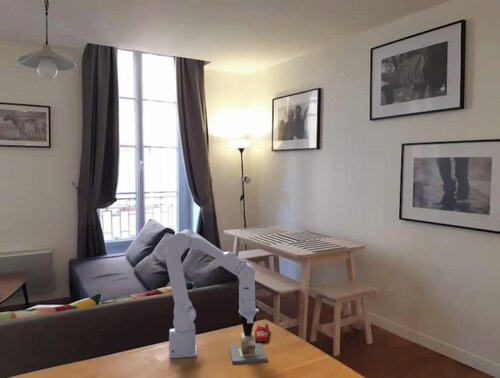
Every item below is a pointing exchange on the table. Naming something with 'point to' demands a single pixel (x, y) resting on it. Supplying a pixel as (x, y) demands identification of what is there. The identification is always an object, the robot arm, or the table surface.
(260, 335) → the race car
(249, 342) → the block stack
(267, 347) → the table surface
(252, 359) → the base plate
